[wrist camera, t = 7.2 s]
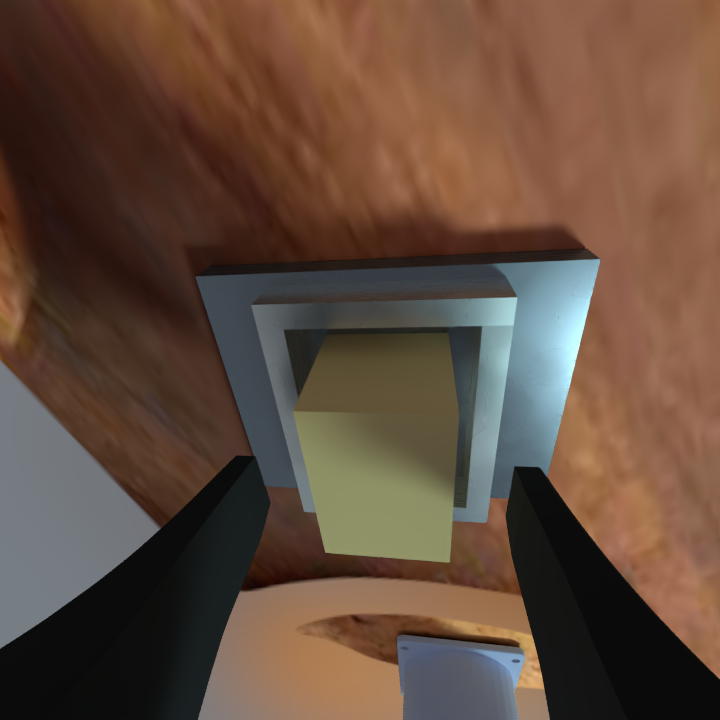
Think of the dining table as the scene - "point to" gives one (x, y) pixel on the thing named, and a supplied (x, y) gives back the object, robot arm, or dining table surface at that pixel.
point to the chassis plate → (411, 315)
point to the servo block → (382, 444)
